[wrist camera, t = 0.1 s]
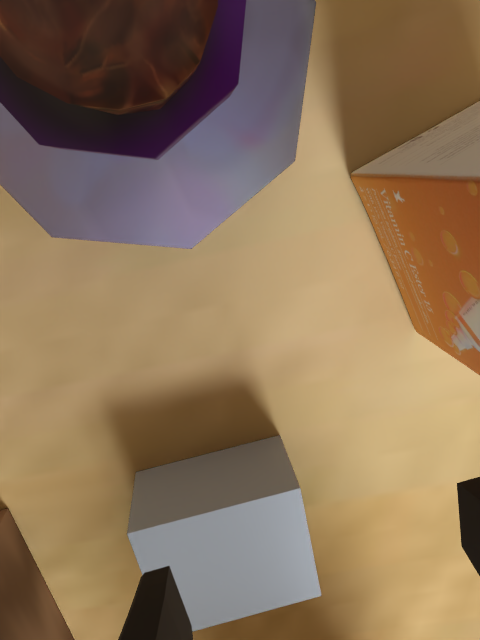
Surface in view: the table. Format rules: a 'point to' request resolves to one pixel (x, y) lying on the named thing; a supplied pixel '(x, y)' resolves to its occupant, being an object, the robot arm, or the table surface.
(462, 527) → the robot arm
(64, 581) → the table surface
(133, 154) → the potion bottle
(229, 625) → the table surface
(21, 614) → the walnut board
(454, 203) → the small box
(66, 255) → the table surface
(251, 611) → the slate block
